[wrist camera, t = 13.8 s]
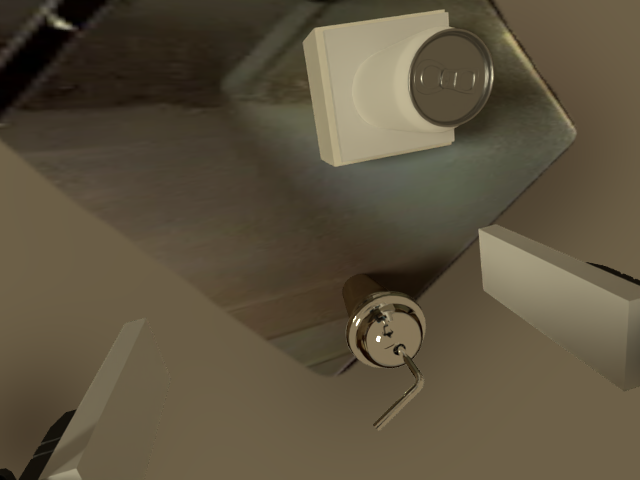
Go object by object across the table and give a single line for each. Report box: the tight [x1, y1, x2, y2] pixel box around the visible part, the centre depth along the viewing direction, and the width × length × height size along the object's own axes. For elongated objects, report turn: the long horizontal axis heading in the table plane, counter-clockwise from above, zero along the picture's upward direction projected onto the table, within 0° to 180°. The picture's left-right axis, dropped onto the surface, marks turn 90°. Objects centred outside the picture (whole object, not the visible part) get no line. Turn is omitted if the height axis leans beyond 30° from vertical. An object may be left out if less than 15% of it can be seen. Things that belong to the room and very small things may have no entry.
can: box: [352, 26, 494, 133], centre depth 30 cm, size 6×6×12 cm
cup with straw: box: [342, 274, 426, 431], centre depth 41 cm, size 8×9×20 cm
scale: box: [303, 10, 454, 167], centre depth 40 cm, size 12×13×9 cm
